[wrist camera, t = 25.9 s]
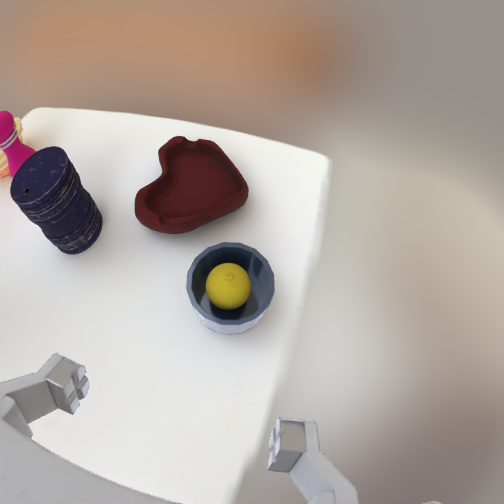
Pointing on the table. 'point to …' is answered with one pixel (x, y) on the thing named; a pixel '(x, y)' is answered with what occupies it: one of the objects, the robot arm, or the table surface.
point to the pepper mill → (12, 143)
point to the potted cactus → (0, 158)
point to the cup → (259, 293)
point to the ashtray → (190, 187)
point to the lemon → (228, 286)
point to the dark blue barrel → (57, 200)
